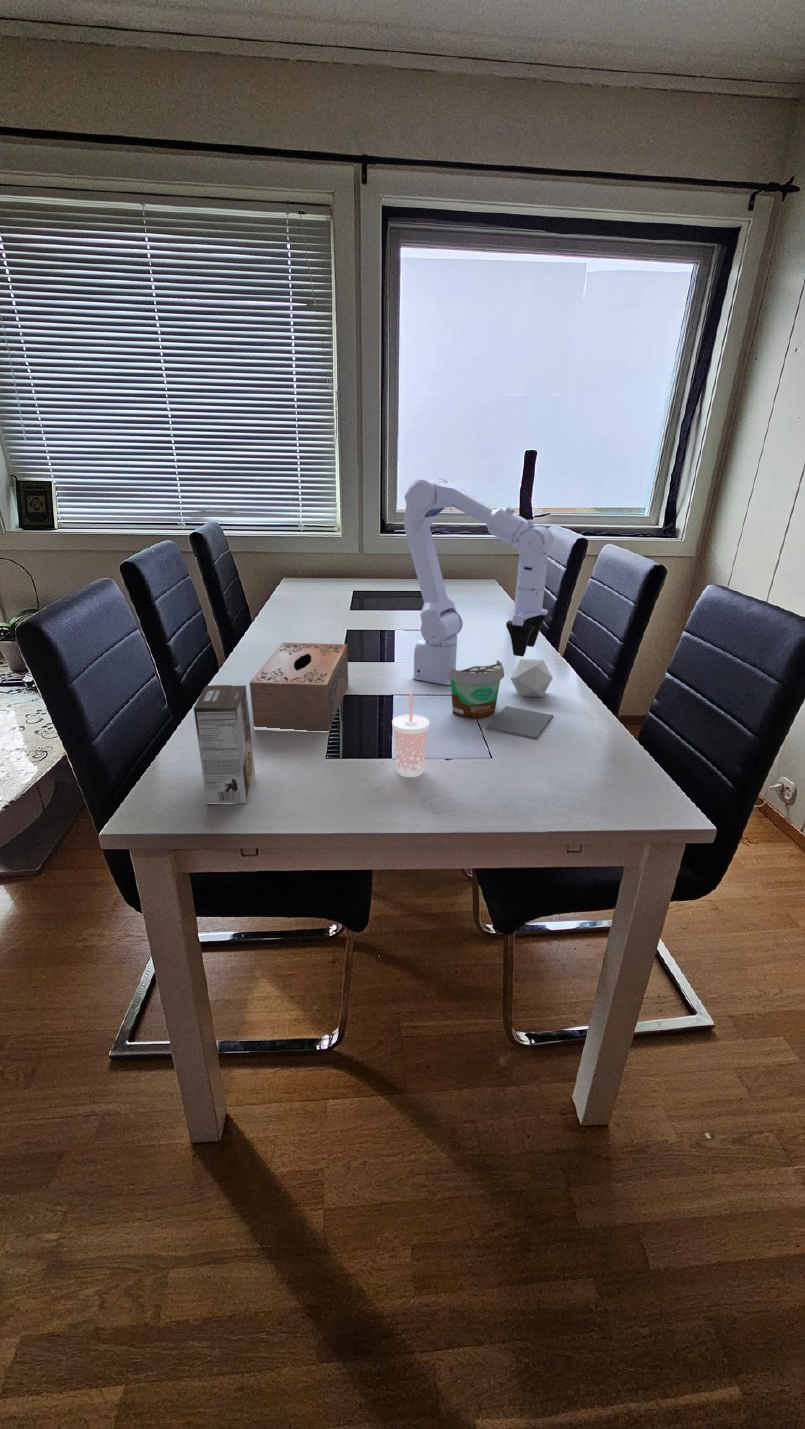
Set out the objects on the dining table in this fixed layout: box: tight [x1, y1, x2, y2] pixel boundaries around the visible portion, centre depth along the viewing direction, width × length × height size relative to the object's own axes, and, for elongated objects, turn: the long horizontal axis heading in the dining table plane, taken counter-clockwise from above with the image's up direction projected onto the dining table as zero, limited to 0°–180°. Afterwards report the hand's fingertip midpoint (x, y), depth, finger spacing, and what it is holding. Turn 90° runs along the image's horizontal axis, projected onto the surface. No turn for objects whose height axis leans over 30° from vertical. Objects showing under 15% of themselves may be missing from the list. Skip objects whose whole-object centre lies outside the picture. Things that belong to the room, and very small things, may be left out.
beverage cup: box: [391, 692, 430, 778], centre depth 101 cm, size 6×6×14 cm
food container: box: [448, 659, 505, 720], centre depth 124 cm, size 12×6×10 cm, turn 117°
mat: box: [485, 705, 554, 740], centre depth 122 cm, size 10×12×1 cm
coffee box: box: [193, 684, 256, 804], centre depth 94 cm, size 9×6×16 cm
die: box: [510, 658, 554, 698], centre depth 135 cm, size 8×9×10 cm
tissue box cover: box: [249, 642, 349, 731], centre depth 128 cm, size 26×14×10 cm, turn 176°
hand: (523, 650), depth 133 cm, fingers open, 7 cm apart
